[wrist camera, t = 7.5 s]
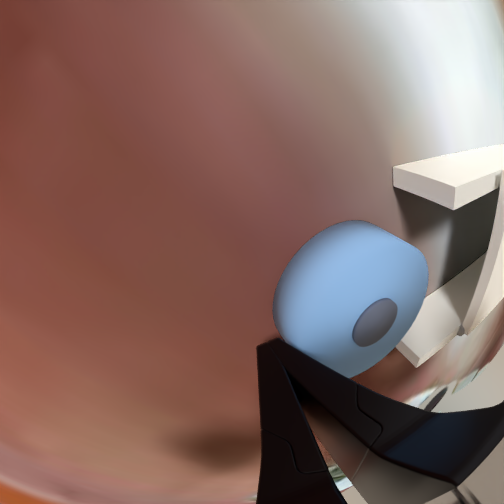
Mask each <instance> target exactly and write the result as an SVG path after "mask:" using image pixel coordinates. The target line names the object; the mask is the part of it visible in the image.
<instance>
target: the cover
mask: <svg viewBox="0 0 504 504" xmlns="http://www.w3.org/2000/svg"><path fill="white" fill-rule="evenodd" d="M503 297H504V169H503V170H502V174H501V183H500V191H499V198H498V204H497V210H496V215H495V220H494V225H493V230H492V234H491V239H490V243H489V247H488V251H487V254H486V258H485V262H484V265H483V269H482V272H481V275H480V278H479V281H478V284H477V287H476V290H475V293H474V296H473V299H472V301H471V304H470V307H469V309H468V312H467V314H466V317H465V319H464V322H463V324H462V326H463V327H464V329H465V332H464V333H465V334H466V335H468V334H469V333H470V332H471V331H472V330H474V329H475V328H476V326H477V325H478V324H479V323H480V322H481V321H482V320H483V319H484V318H485V317H486V316H487V315H488V314H489V313H490V312H491V311H492V310H493V309H494V307H495V306H496V305H497V304H498V303H499V302H500V301H501V299H502V298H503Z"/></svg>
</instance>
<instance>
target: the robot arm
mask: <svg viewBox="0 0 504 504" xmlns="http://www.w3.org/2000/svg"><path fill="white" fill-rule="evenodd" d="M256 350H257V369H258V387H259V406H260V425H261V466H260V476H259V484H258V492H257V500H256V504H347V502H346V501H345V499H344V497H343V496H342V494H341V493H340V491H339V489H338V488H337V486H336V484H335V482H334V480H333V478H332V476H331V474H330V472H329V469H328V467H327V465H326V463H325V460H324V458H323V456H322V453H321V451H320V449H319V447H318V444H317V442H316V440H315V437H314V435H313V433H312V430H313V432H314V433H315V435H316V436H317V437H318V439H319V440H320V442H321V443H322V444H323V446H324V447H325V448H326V450H327V451H328V452H329V454H330V455H331V456H332V458H333V459H334V461H335V462H336V463H337V465H338V466H339V467H340V468H341V470H342V471H343V472H344V474H345V475H346V476H347V478H348V479H349V480H350V481H351V483H352V484H353V485H354V487H355V488H356V489H357V490H358V492H359V493H360V494H361V496H362V497H363V498H364V499H365V501H366V502H367V503H368V504H504V400H503V402H502V403H500V404H498V405H496V406H493V407H489V408H482V409H475V410H467V411H459V412H448V413H436V412H430V411H426V410H422V409H419V408H416V407H413V406H410V405H407V404H404V403H401V402H399V401H396V400H393V399H390V398H388V397H385V396H383V395H380V394H378V393H376V392H374V391H372V390H370V389H368V388H366V387H364V386H362V385H360V384H357V383H356V382H355V381H353V380H351V379H349V378H347V377H345V376H344V375H342V374H340V373H338V372H336V371H335V370H333V369H331V368H329V367H327V366H326V365H324V364H322V363H320V362H319V361H317V360H315V359H313V358H312V357H310V356H308V355H307V354H305V353H303V352H301V351H300V350H298V349H296V348H295V347H293V346H291V345H290V344H288V343H286V342H285V341H283V340H281V339H280V338H275V339H272V340H270V341H268V342H265V343H263V344H260V345H258V346H257V347H256ZM311 429H312V430H311Z"/></svg>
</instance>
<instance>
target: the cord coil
mask: <svg viewBox="0 0 504 504" xmlns="http://www.w3.org/2000/svg"><path fill="white" fill-rule="evenodd" d="M427 286H428V266H427V262H426V260H425V257H424V256H423V254H422V253H421V252H420V251H419V250H418V249H417V248H416V247H414V246H412V245H410V244H409V243H407V242H405V241H403V240H401V239H400V238H398V237H396V236H394V235H392V234H391V233H389V232H387V231H385V230H383V229H381V228H380V227H378V226H376V225H374V224H372V223H370V222H366V221H361V220H351V221H345V222H341V223H337V224H335V225H333V226H330V227H328V228H326V229H325V230H323V231H321V232H319V233H318V234H317V235H315V236H314V237H313V238H311V239H310V240H309V241H308V242H307V243H306V244H304V245H303V246H302V247H301V248H300V250H299V251H298V252H297V253H296V254H295V255H294V257H293V258H292V259H291V261H290V262H289V263H288V265H287V267H286V268H285V270H284V272H283V273H282V275H281V278H280V280H279V282H278V284H277V288H276V291H275V294H274V299H273V319H274V322H275V326H276V328H277V329H278V331H279V333H280V334H281V336H282V337H283V339H284V340H285V342H286V343H288V344H290V345H291V346H293V347H295V348H296V349H298V350H300V351H301V352H303V353H305V354H307V355H308V356H310V357H312V358H313V359H315V360H317V361H319V362H320V363H322V364H324V365H326V366H327V367H329V368H331V369H333V370H335V371H336V372H338V373H340V374H342V375H344V376H345V377H347V378H351V377H354V376H356V375H358V374H360V373H362V372H364V371H366V370H367V369H369V368H370V367H372V366H374V365H375V364H376V363H378V362H379V361H380V360H381V359H383V358H384V357H385V356H386V355H387V354H388V353H389V352H390V351H391V350H392V349H394V347H395V346H396V345H397V344H398V343H399V342H400V341H401V339H402V338H403V337H404V336H405V334H406V333H407V332H408V330H409V329H410V327H411V326H412V324H413V322H414V321H415V319H416V317H417V315H418V313H419V311H420V309H421V307H422V304H423V301H424V298H425V295H426V291H427Z"/></svg>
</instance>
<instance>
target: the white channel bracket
mask: <svg viewBox="0 0 504 504" xmlns="http://www.w3.org/2000/svg"><path fill="white" fill-rule="evenodd" d="M503 169H504V144H499V145H493V146H487V147H482V148H477V149H471V150H466V151H461V152H456V153H452V154H447V155H442V156H437V157H433V158H428V159H424V160H419V161H415V162H411V163H406V164H402V165H398V166H394V167H393V186H394V187H397V188H400V189H402V190H405V191H408V192H410V193H413V194H416V195H418V196H421V197H423V198H426V199H428V200H431V201H433V202H435V203H438V204H440V205H442V206H445V207H447V208H449V209H452V210H455V209H457V208H459V207H461V206H463V205H465V204H467V203H469V202H471V201H473V200H475V199H477V198H479V197H481V196H483V195H485V194H487V193H489V192H491V191H493V190H495V189H497V188H499V187H500V183H501V174H502V170H503ZM486 254H487V252H486V253H484V254H483V255H482V256H481V257H479V258H478V259H477V260H476V261H475V262H473V263H472V264H471V265H470V266H468V267H467V268H466V269H464V270H463V271H462V272H460V273H459V274H458V275H457V276H455V277H454V278H453V279H451V280H450V281H448V282H447V283H446V284H444V285H443V286H442V287H440V288H439V289H437V290H436V291H434V292H433V293H432V294H430V295H429V296H427V297H426V298H424V301H423V304H422V307H421V309H420V311H419V313H418V315H417V317H416V319H415V321H414V322H413V324H412V326H411V327H410V329H409V330H408V332H407V333H406V334H405V336H404V337H403V338H402V339H401V341H400V342H399V343H398V344H397V345H396V346H395V347H396V348H397V349H398V350H399V351H400V352H401V353H402V354H403V355H404V356H405V357H406V358H407V359H408V360H409V361H410V362H411V363H412V364H413V365H414V366H415V367H416V368H417V367H418V366H420V365H421V364H422V363H424V362H425V361H426V360H427V359H429V358H430V357H431V356H433V355H434V354H435V353H436V352H437V351H439V350H440V349H441V348H442V347H443V346H445V345H446V344H447V343H448V342H449V341H450V340H452V339H453V338H454V337H455V336H456V335H459V336H462V335H463V334H464V332H465V329H464V327H463V326H462V324H463V322H464V319H465V317H466V314H467V312H468V309H469V307H470V304H471V301H472V299H473V296H474V293H475V290H476V287H477V284H478V281H479V278H480V275H481V272H482V269H483V265H484V262H485V258H486Z"/></svg>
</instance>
